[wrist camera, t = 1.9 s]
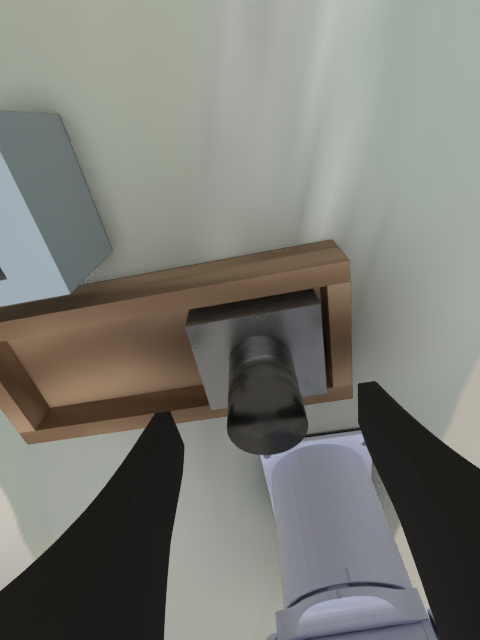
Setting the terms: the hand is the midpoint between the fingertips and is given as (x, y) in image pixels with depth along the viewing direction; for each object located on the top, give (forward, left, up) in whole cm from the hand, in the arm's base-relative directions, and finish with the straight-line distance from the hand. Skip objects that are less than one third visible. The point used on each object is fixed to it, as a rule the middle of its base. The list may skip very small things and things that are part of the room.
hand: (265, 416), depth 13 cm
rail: (0, +5, -7) cm, 9 cm away
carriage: (0, 0, -6) cm, 6 cm away
